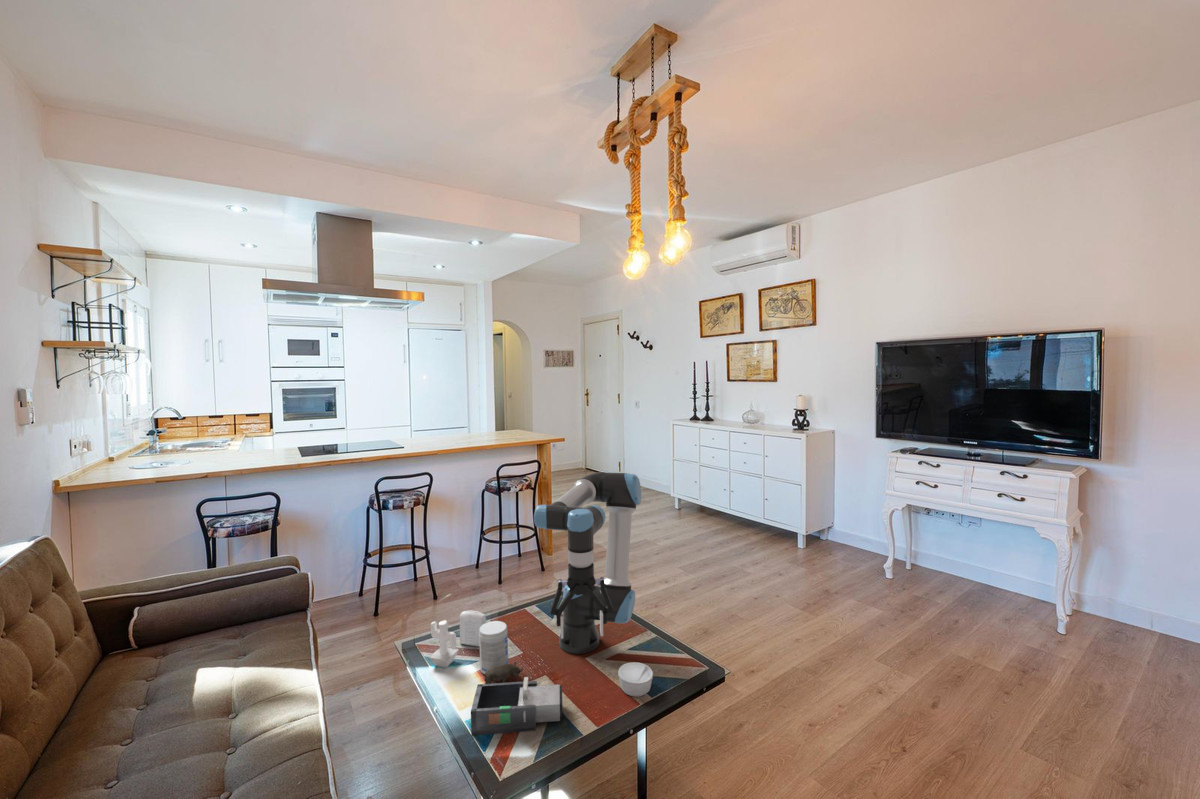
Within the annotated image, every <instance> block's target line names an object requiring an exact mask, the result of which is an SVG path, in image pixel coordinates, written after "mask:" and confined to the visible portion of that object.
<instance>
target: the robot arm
mask: <svg viewBox="0 0 1200 799" xmlns="http://www.w3.org/2000/svg"><path fill="white" fill-rule="evenodd" d="M593 502H595V503H597V502H598V503H605V508H606V509H607V511H608V512H609V514H608V525H607V526H608V527H607V528H608V529H607V542H606V556H605V568H604V570H605V571H604V577H603V576H601V577H600V578H595V572H594V571H595V570H594V569H595V567H594V566H595V565H594V563H593V562H594V561H595V558H594V556H595V555H594V536H595V534H596V533H597V532H598V531H600V530H601V528H603V525H604V524H605V521H606V518H607V517H606V513H605V511H604V509H603V508H602V507H601V506H599V505H596V504H591V505H589V506H587V507H583V506H585V505H588V504H590V503H593ZM641 503H642V487H641V482H640V479H639V477H638V476H637V475H636V474H634V473H627V472H606V471H605V472H604V471H603V472H600V471H599V472H598V471H597V472H593V473H590V474H587V475H585V476H583V477H581V478H579V479H578V480H577V481H575V482H574V484H573V486H572V488H571V489H569V490H568V491H567V492H566V491H565V493H564V494H563V495H562V496H560V497H558V498H557V499H556V500H554V502H552V503H550V504H538V505H537V506H536V508H535V509H534V514H533V523H534V525H535V527H537V529H542V530H543V529H544V530H551V531H552V530H553V531H563V532H565V531H566V532H567V562H568V568H567V569H568V571H567V572H568V573H567V574H568V577H567V580H563V579H561V578H560V579H558V580H557V588H556V592H555V594H554V597H553V600H552V603H551V606H550V612H549V613H550V615H552V616H553V615H555V617H556V626H557V627H560V634H559V636H558V637H559V638H558V641H559V647H560V649H562V650H563V651H564V652H567V653H569V654H573V655H575V654H576V655H580V654H588V653H590V652H592V651H594V650H596V649H597V648H598V647H599V645H600V637H604V625H606V624H607V623H608V622H609V623H614V624H627V623H629V622H630V620H631V619H632V618H631V617H632V616H633V612H634V608H635V605H636V591H635V590H634V589H632V583H631V582H630V581H629V580H628V578H629V564H630V563H629V560H630V548H631V546H630V545H631V530H632V529H631V528H632V516H633V515H632V514H633V513H634V512H635V511H636V510H637V506H639V505H641ZM562 593H563V594H562ZM561 595H563V596H562V601H561V603H560V605H559V606H558V604H559V601H560V598H561ZM595 621H599V631H598V628H597V625H596V623H595ZM599 633H600V634H599Z"/></svg>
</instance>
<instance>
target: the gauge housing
mask: <svg viewBox="0 0 1200 799" xmlns="http://www.w3.org/2000/svg"><path fill="white" fill-rule="evenodd" d="M523 684H524V681H512V682H506V683H502V682H498V683H496V682H494V683H493V682H492V684H485V683H481V684H477V686H476V690H475V694H474V697H473V702H472V706H471V709H470V731H471V732H470V733H471V734H470V735H471V736H480V735H482V736H483V735H495V734H507V733H509V734H511V733H521V732H524V733H525V732H535V731H536V729H537V728H536V727H537V726H536V725H537V722H536V720H535V705H524V706H518V701H519V693H520V687H523ZM528 686H538V681H537V680H530V681H529V680H528Z"/></svg>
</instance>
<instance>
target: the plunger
mask: <svg viewBox="0 0 1200 799" xmlns="http://www.w3.org/2000/svg"><path fill="white" fill-rule="evenodd" d="M528 681H529V676H524V677H523V682H524V684H523V687H520V693H519V701H518V706H524V705H535V720H536V723H546V722H547V723H548V722H560V721H561V720H563V718H564V714H563V712H564V711H563V709H564V708H563V685H560V684H547V685H537V686H528Z"/></svg>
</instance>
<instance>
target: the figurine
mask: <svg viewBox="0 0 1200 799" xmlns="http://www.w3.org/2000/svg"><path fill="white" fill-rule="evenodd" d="M437 626H438V627H437ZM430 633H431V634H430V635H431V637H432V639H433V638H434V639H438V640H439V647H438V649H436V651H435V652H433V653H432V654H431V655H430V656H429V657H428V658H429V659H430V661H431V662H432V664H433V665H434V666H435V667H440V668H444V669H446V668H448V667H449V666H451V664H452V663H453V662H454V660H455V658H456V656H457V654H458V652H459V649H460V648H457V634H456V633H455V632H453V631H449V625H448V620H446V619H444V620H443V619H442V620H441V621H439V623H437V621H432V622H431V623H430ZM449 642H450V647H449Z"/></svg>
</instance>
